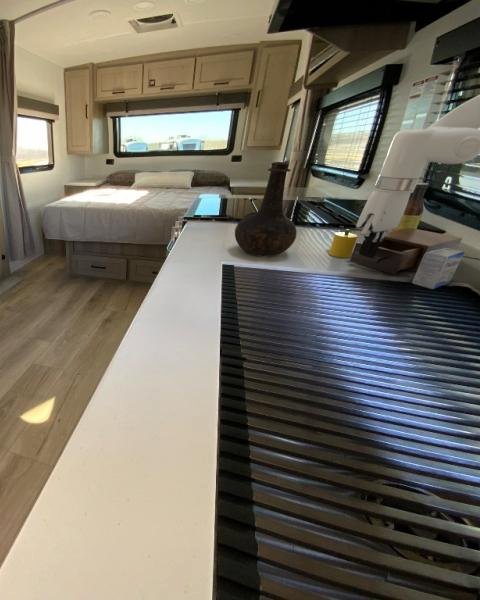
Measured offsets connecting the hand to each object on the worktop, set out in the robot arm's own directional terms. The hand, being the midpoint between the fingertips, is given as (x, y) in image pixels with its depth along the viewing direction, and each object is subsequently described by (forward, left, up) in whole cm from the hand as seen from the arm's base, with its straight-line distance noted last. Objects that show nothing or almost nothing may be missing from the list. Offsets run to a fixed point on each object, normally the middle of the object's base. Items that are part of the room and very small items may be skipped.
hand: (366, 254), depth 90 cm
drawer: (0, -9, -4) cm, 10 cm away
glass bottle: (+25, +10, -6) cm, 27 cm away
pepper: (+12, -9, -5) cm, 16 cm away
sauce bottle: (+10, -34, -6) cm, 36 cm away
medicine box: (-12, -8, -6) cm, 15 cm away
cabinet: (0, -21, -5) cm, 22 cm away
